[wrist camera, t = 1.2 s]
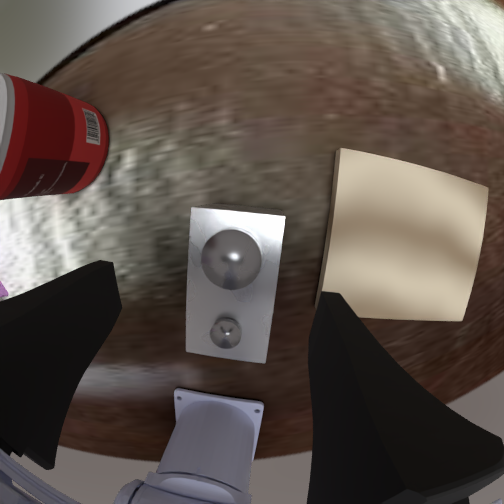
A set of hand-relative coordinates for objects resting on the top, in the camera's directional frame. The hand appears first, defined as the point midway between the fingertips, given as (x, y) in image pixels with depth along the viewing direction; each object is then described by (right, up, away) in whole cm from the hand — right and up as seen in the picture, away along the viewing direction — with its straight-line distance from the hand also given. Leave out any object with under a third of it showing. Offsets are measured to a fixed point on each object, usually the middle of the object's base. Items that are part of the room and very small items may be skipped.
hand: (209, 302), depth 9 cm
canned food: (-13, +10, +10) cm, 20 cm away
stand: (+13, +2, +9) cm, 16 cm away
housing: (+1, +1, +11) cm, 11 cm away
